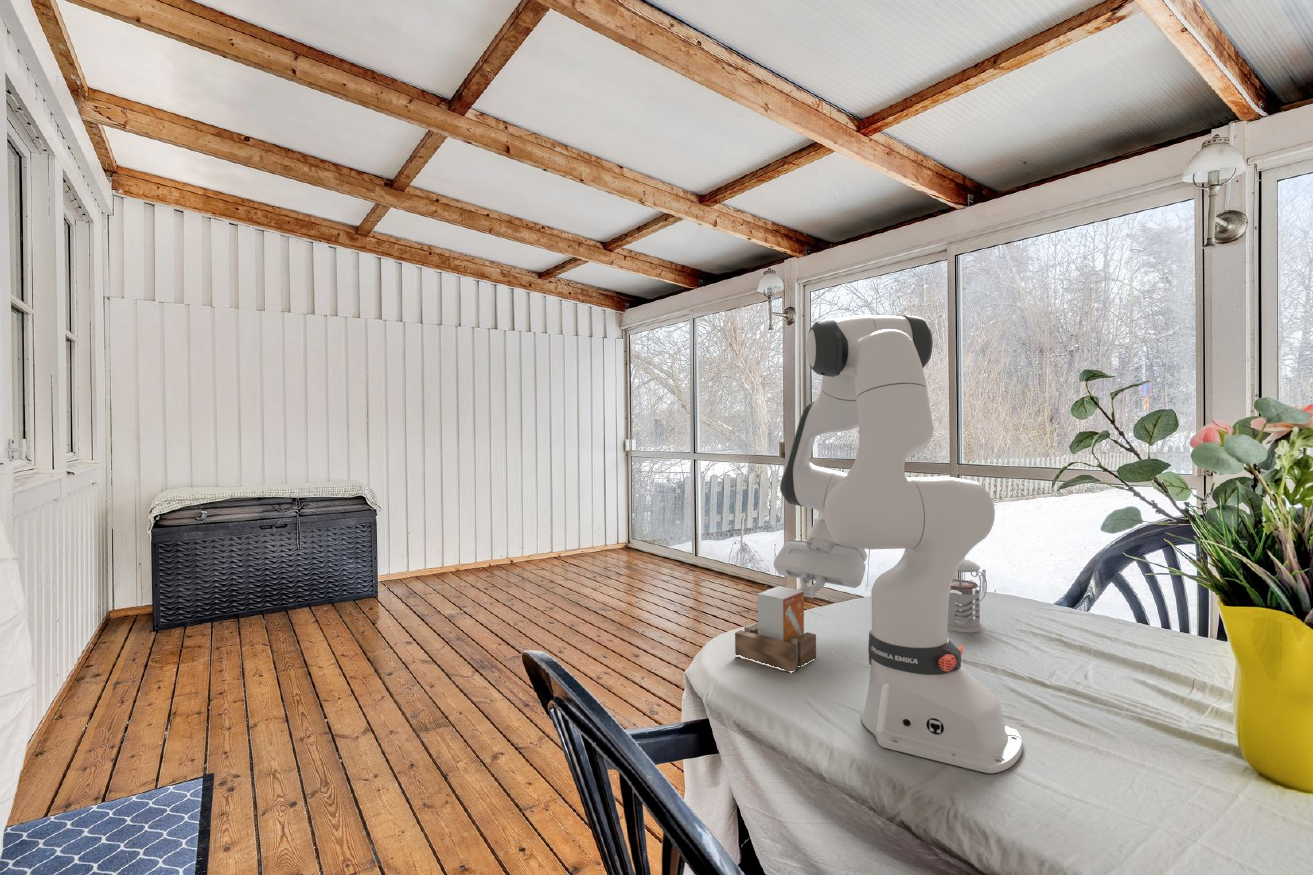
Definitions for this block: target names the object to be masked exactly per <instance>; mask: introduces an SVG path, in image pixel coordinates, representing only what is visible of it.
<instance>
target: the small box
mask: <svg viewBox="0 0 1313 875" xmlns="http://www.w3.org/2000/svg"><path fill="white" fill-rule="evenodd" d="M756 598H757V623H758V635H761V636H765V637H769V638H773V639H776V640H780V641H784V642H788V643H791V639H792V638H797V637H799V636H801V635H803V634H805V622H804V621H805V620H804V619H805V609H804V608H805V603H804V602H805V599H804V598H805V596H804V591H801V590H800V589H795V588H790V587H786V586H782V585H781V586H780V585H778V586H776V587H775V586H774V587H772V588H769V589H766V590H765V591H762V592H759V593H757V597H756Z"/></svg>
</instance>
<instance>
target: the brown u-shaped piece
mask: <svg viewBox="0 0 1313 875" xmlns="http://www.w3.org/2000/svg"><path fill="white" fill-rule="evenodd" d="M734 647H735V648H734V653H735V654H736V655H741V656H743V657H745V658H748V659H753V660H755V661H759V662H761V663H765V664H769V665H771V666H774V667H779V668H781V669H784V670H786V671H794V670H796V669H797V670H798V668H799V667H798V666H800V667H801V666H802V665H804V664H805V663H808V662H809V661H811V660H813V659H815V660H817V634H816V633H812V632H808V631H807V632H804V634H803V635H801V636H799V637H797V638H792V639H791V643H788V642H784V641H780V640H776V639H773V638H769V637H765V636H761V635H758V622H756V623H754V624H752V625H747V626H746V625H745V626H744V630H738V631H736V632H735V633H734ZM735 654H734V655H735ZM797 667H798V668H797Z"/></svg>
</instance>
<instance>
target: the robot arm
mask: <svg viewBox="0 0 1313 875" xmlns="http://www.w3.org/2000/svg"><path fill="white" fill-rule="evenodd" d="M807 333H808V335H807V337H806V341H805V356H806V359H807V361H808V365H809V367H810V369H811V370H812V371H813V372H815V374H817V375H820V376H822V379H821V386H820V387H821V388H820V392H819V395H818V397H817V399H816V400H813V401H812V402H809V403H808V404H807V405H806V406H805V408H804V410H803V411H802V413H801V416H800V417H799V418H800V419H799V422H798V425H797V428H796V431H795V435H794V438H793V441H792V442H793V443H792V446H791V450H790V454H789V456H788V460H787V464H786V467H785V470H784V471H783V475H782V477H781V479H780V488H779V491H780V493H781V495H782V497H783V499H784V500H785V501H786V502H787V503H788V505H794V506H799V507H806V508H809V509H813V510H816V511H819V513H818V518H817V519H816V520H815V521H814V523H813V524H812V527H811V529H810V531H809V535H808V536H807V539H798V538H792V539H789V540H788V541H787V540H786V541H785V542H784V544H783V545H782V548H780V551H779V552H778V554H777V555H776V557H775V558H774V561H773V566H774V567H773V568H774V569H775V571H776V572H777V574H779V575H780V576H785V577H791V578H797V579H799V581H800V588H799V590H801V591H804V598H805V597H807V598H812V599H814V598H815V596H816V593H818V592H819V591H820V590H821V589H822V588H824V587H825V584H830V585H836V586H842V587H848V588H852V589H856V588H858V587H859V586H861V585H862V582H863V579H864V576H865V572H866V564H865V561H867V559H868V555H867V552H866V550H897V549H898V550H899V549H900V550H901V549H904V552H903V555H901V558H900V560H899V561H898V562H897V563H896V564H895V565H894V566H893V567H891V568H890V569H888V570H886V571H885V572H883V573H881V574H880V575H878V577H877V578H876V580H875V581H874V582H873V585H872V587H871V592H870V600H871V605H870V607H871V612H870V613H871V616H870V617H871V630H870V631H869V632H868V648H867V650H868V652H867V653H868V663H869V665H870V672H869V681H868V688H867V696H866V699H865V704H864V708H863V710H862V714H861V721H862V723H863V725H864V727H865V728H866V729H867V730H869V731H870V733H872V734H873V735H874V736H875V739H876V743H877V745H879V746H880V747H882V748H883V749H887V750H892V751H897V752H900V753H905V754H908V755H913V756H916V757H921V758H925V759H928V760H931V761H932V760H933V761H936V762H940V763H944V764H949V765H953V766H957V767H961V768H963V769H969V770H971V771H972V770H973V771H976V772H982V773H986V774H994V773H995V774H996V773H1000V772H1003V771H1005V770H1007V769H1010V768H1011V767H1012V766H1014V765H1015V763H1017V762H1018V760H1019V759H1020V757H1021V755H1022V752H1023V749H1024V748H1023V747H1024V746H1023V740H1022V739H1023V738H1022V736H1021V735H1020V732H1018V731H1017V729H1014V728H1011V727H1009V726H1006V723H1005V716H1004V712H1003V708H1002V705H1001V702H1000V701H999V698H997V696H996V695H995V694H993V693H992V692H991V691H990V690H989V689H988V688H986V687H985V685H983V684H982V683H980V681H978V680H977V679H976V678H975V677H974V676H972V674H970V673H969V672H968V671H967V670H966V669H965V668H964V667H962V655H963V654H964V644H962V645H960V646H959V647H956V645H955V644H954V643H953V642H952V641H951V639H950V638H949V637H948V629H947V621H948V602H949V593H951V592H950V591H951V590H950V587H951V584H952V580H953V579H955V575H956V573H957V569H958V567H959V565H960V564H961V562H962V560H963V559H965V557H966V556H967V555H968V554H969V552H971V550H972V549H973V548H974V547H975V546H977V545H978V544H979V543H981V542H982V541H983V540H985V539H986V538H987V536H988V535H989V534H990V533H991V531H992V529H993V526H994V522H995V519H996V518H995V517H996V516H995V515H996V513H995V512H996V511H995V510H996V509H995V505H994V501H993V499H992V497H991V495H990V494H989V492H988V491H987V489H986V488H985V487H984V486H983V485H982V484H981V483H980V482H977V481H975V480H970V479H969V480H968V479H963V478H959V477H953V476H916V477H913V476H912V477H909V476H906V474H905V462H906V459H908V458H911V457H912V456H914V455H916V454H917V453H919V452H920V451H922V450H923V449H925V447H927V446H928V444H929V443H930V442H931V440H932V437H933V434H934V424H933V423H934V422H933V418H932V412H931V411H932V410H931V405H930V400H929V392H928V386H927V380H926V376H925V372H924V368H925V367H926V365H927V364H928V363H929V362H930V360H931V357H932V353H933V345H934V344H933V341H934V340H933V334H932V330H931V327H930V326H929V324H928V323H927V321H926V320H925V319H924V318H922V317H919V316H914V315H908V314H907V315H906V314H903V315H901V316H896V315H869V314H863V315H852V316H851V315H850V316H845V317H840V318H833V317H829V318H826V319H825V318H824V319H821V320H818V321H816V322H814V324H812V326H811V327H810V328H809V330H808V332H807ZM856 428H858V440H859V441H858V449H857V454H856V456H855V460H854V463H853V464H852V466H851V468H850V470H849V471H848V472H844V471H840V470H834V469H831V468H826V467H822V466H818V465H815V464H813V462H811V461H810V457H811V454H812V452H813V451H812V450H813V448H814V445H815V441H816V438H817V437H818V436H821V435H824V434H829V433H838V432H839V433H840V432H846V431H851V430H853V429H856ZM811 581H814V583H813V584H812V585H811V586H807V584H809V583H810V582H811Z"/></svg>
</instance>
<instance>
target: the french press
mask: <svg viewBox="0 0 1313 875" xmlns="http://www.w3.org/2000/svg"><path fill="white" fill-rule="evenodd" d="M980 569H981V566H980V565H979V564H977V563H976V562H973V561H972V560H968V559H965V558H964V559H963V560H962V562H961V564H960V565H959V567H958V569H957V571H956V573H958V572H959V578H957V579H956V578H953V580H952V584H951V587H950V591H957V592H960V593H961V594H959V593H957V592H950V593H949V602H948V621H947V631H948V630H949V631H952V632H958V633H970V634H971V633H979V632H983V631H984V630H985V628H986V627H985V626H984V625H983V624H982V623H981V620H980V618H981V617H980V616H981V614H980V613H981V612H980V611H981V608H980V607H981V606H980V605H981V604H980V602H982V601H983V600H984V599H985V596H986V593H987V590H988V582H987V581H988V580H987V579H986V575H984V573H983V572H981V571H980ZM974 572H975V575H973V573H974ZM962 573H970V576H972V577H974V578H977V577H978V580H979V584H978V583H977V582H974V581H972V580H966V579H965V580H964V579H962ZM980 574H981V575H982V577H983V579H984V583H985V588H984V590H985V591H984V593H983V595H982V598H980V592H981V590H982V579H981V575H980ZM978 586H979V589H976V588H978ZM973 593H974V594H973ZM973 607H974V608H973Z"/></svg>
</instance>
